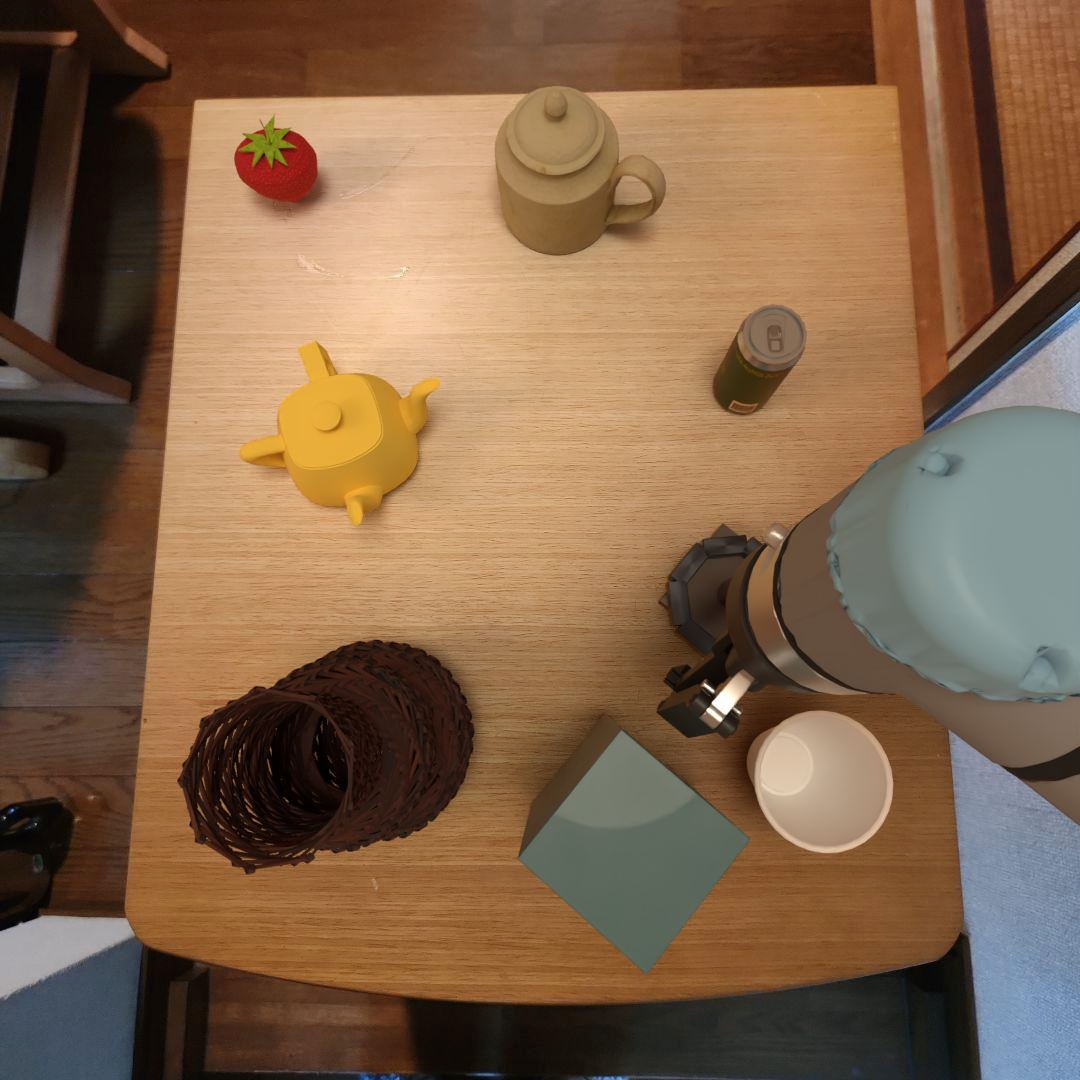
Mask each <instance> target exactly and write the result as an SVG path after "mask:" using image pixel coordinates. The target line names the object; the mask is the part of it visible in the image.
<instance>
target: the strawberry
mask: <svg viewBox="0 0 1080 1080" xmlns="http://www.w3.org/2000/svg"><path fill="white" fill-rule="evenodd" d="M275 117H276V115H275V114H274V115H273V116H272V117H271V118H270V119H269V121H268V122H267V123H266V125H265V126H264V124H263V121H262V120H261V118H259V119H258V121H259V123H260V125H261V126H262V129H260V130H259V129H258V130H257V131H255V132H252V133H250V132H249V133H248V132H242V136H244V137H245V138H244V139H243V140H242V141H241V142H240V143H239V145H237V147H236V150H235V152H234V157H233V162H234V166H235V170H236V173H237V174H238V177H239V179H240V180H241V181H242V182H243V183H244V184H245V185H246V186H248V187H249V188H250V189H251V190H252V191H254V192H256V193H257V194H258V195H260V196H262V197H264V198H267V199H271V200H275V201H278V202H283V203H284V202H285V203H299V202H301V201H302V200H303V199H304V198H305V197H306V196H307V195H308V194H309V193H310V191H311V190H312V188H313V186H314V185H315V183H316V180H317V179H318V173H319V170H318V169H319V168H318V157H317V153H316V150H315V149H314V147H313V146H312V145H311V144H310V143H309V141H308V140H307V139H306V138H305V137H304V136H303V135H301V134H300V133H298V132H296V131H294V130H291V129H292V127H286V128H280V127H279V128H277V127H275Z"/></svg>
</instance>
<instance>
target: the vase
mask: <svg viewBox="0 0 1080 1080" xmlns="http://www.w3.org/2000/svg"><path fill="white" fill-rule="evenodd" d="M461 689H462V688H461V685H460V684H459V683H458V682H457V681H456V680H455V679H454V678H453V673H452V672H451V670H450V669H448V668H447V667H446V666H444V665H442V663H441V661H440V660H439V659H438V658H437V657H436V656H434V655H433V654H428V652H427V651H426V650H424V649H423V648H419V647H413V646H411V645H410V643H405V642H401V643H400V642H398V641H397V642H396V641H393V640H392V641H391V640H390V641H385V642H384V641H383V640H381V639H373V640H369V641H364V640H363V641H362V640H358V641H355V642H351V643H350V644H345V645H340V646H339V647H338V648H336V649H333V650H330V651H329V652H327V653H326V654H324V655H323V656H322V657H319V658H317V659H315V660H314V661H312V662H308V663H306V664H303V665H302V666H301V667H297V668H294V669H293V670H291V672H289V673H288V674H287V675H286V676H285V677H282V678H280V679H278V680H277V681H276V682H275V683H274V685H273V686H270V687H268V688H266V687H265V686H260V685H254V686H253V687H252V688H250V689H249V691H247V693H245V694H244V695H242V696H241V697H239V698H236V699H232V700H228V702H227V703H226V705H224V706H221V707H219V708H216V709H214V710H213V712H212V713H211V714H208V715H205V716H203V717H201V718H200V719H199V724H198V728H199V729H198V732H197V735H196V737H195V740H194V742H193V744H192V745H191V746H190V747H189V753H188V755H187V758H186V759H185V760H184V761H183V763H182V764H181V766H182V770H181V773H180V775H179V777H178V778H177V780H176V783H177V784H178V785H179V788H180V789H182V792H183V795H184V796H183V797H184V800H185V803H186V809H187V811H188V815H189V818H190V821H189V823H188V826H189V827H190V828H191V829H192V830H193V834H194V843H195V844H199V845H201V846H203V845H205V846H207V847H208V848H210V849H211V850H212V851H215V852H216V853H218V854H219V855H221V856H222V857H224V858H226V859H227V860H229V861H230V863H231V864H230V865H231V867H232V868H239V869H240V868H241V869H243V870H244V873H245V875H252V874H255V873H256V870H262V869H267V868H274V867H280V868H281V867H283V866H287V865H290V866H292V867H294V868H295V867H296V866H298V865H299V864H301V863H305V864H307V865H309V864H310V863H311V862H313V861H314V860H315V859H316V856H315V854H316V853H317V852H318V851H320V852H325V851H331V852H332V853H333V854H339V853H343V852H345V851H347V852H349V853H351V852H357V851H359V850H360V849H361V847H362V848H367V847H369V846H371V845H373V844H375V843H377V842H380V841H382V842H390V841H393V840H395V839H397V838H399V839H406V838H408V837H409V836H411V835H412V834H413V833H414V832H416V833H417V832H421V831H422V830H424V829H426V827H428V825H429V822H430V823H432V822H434V821H435V820H436V819H437V818H438V816H439V815H440V814H441V812H443V811H444V810H445V809H446V808H447V807H448V806H449V805H450V803H451V801H452V800H454V799H455V798H456V797H457V794H458V793H459V790H460V787H461V786H462V785H463V784H464V782H465V779H466V776H467V773H468V768H469V766H470V758H471V755H472V754H473V752H474V741H473V738H474V736H475V725H474V723H473V722H472V721H473V713H472V711H471V709H470V707H469V705H467V704H468V699H467V697H466V696H465V694H464V693H463V692H462V690H461ZM223 805H224V806H225V808H224V806H223ZM198 808H199V809H200V810H201V811H200V810H199V809H198ZM250 811H251V812H250ZM233 848H235V849H237V850H234V849H233ZM238 850H239V851H238ZM311 851H312V852H311ZM298 854H299V855H298ZM243 858H245V859H243Z"/></svg>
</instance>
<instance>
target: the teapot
mask: <svg viewBox="0 0 1080 1080" xmlns="http://www.w3.org/2000/svg"><path fill="white" fill-rule="evenodd" d="M296 349H297V351H298V353H299V356H300V359H301V362H302V365H303V367H304V369H305V373H306V376H307V377H308V380H309V382H308V383H306V384H304V385H302V386H300V387H298V388H297V389H295V390H293V391H292V392H290V393H289V394H288V395H287V396H285V398H283V400H282V402H281V403H280V405H279V406H278V410H277V415H276V428H277V434H273V435H268V436H265V437H260V438H257V439H253V440H250V441H247V442H246V443H244V444H242V445H241V446H240V448H239V450H238V455H239V457H240V459H241V460H242V461H243V462H244V463H247V464H250V465H254V466H259V467H271V468H272V467H273V468H286V469H287V472H288V473H289V476H290V478H291V479H292V481H293V483H294V485H295V487H296V489H297V490H298V491H299V492H300V493H301V494H302V496H303V497H304V498H306V499H307V500H309V501H310V502H311V503H314V504H315V505H320V506H326V507H343V506H344V507H346V513H347V517H348V519H349V522H350V523H351V525H354V526H359V525H361V523H362V521H363V518H364V515H366V514H370V513H371V512H374V511H375V510H377V509H378V508H379V507H380V505H381V504H382V500H383V496H384V495H386V494H388V493H390V492H391V491H393V490H394V489H396V488H397V487H399V486H400V485H402V484H403V483H404V482H405V481H406V480H407V479H408V478H409V477H410V476H411V475H412V474H413V472H414V470H415V468H416V466H417V464H418V461H419V446H418V438H417V433H418V432H420V431H421V429H423V427H424V426H425V424H426V423H427V420H428V415H429V414H428V405H427V398H428V396H429V395H431V394H432V393H433V392H435V391H436V390H437V389H438V388H439V387H440V385H441V380H440V379H439V378H437V377H430V378H426V379H423V380H421V381H420V382H418V383H417V384H415V385H414V386H413V387H412V388H411V390H410V391H409V395H406V396H404V397H403V398H402V396H401V394H400V393H399V392H398V390H397V389H396V388H395V387H394V386H393V385H392V384H391V383H390V382H388V381H386V379H385V380H384V378H381V377H379V376H377V375H373V374H369V373H363V372H362V373H360V372H351V373H350V372H349V373H348V372H347V373H338V371H337V370H336V368H335V366H334V363H333V362H332V361H333V360H332V359H331V357H330V355H329V353H328V351H327V349H326V348H325V347H324V346H322V345H321V344H320V343H319V342H318V340H313V341H312V342H309V343H306V344H303V345H300V346H298V347H296Z"/></svg>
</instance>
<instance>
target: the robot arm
mask: <svg viewBox="0 0 1080 1080" xmlns="http://www.w3.org/2000/svg"><path fill="white" fill-rule="evenodd" d="M761 537H762V542H763V543H762V545H761V546H760V547H758V548H757V549H755V550H754V551H753V552H752V553H750V554H749V555H748V556H747V557H746V558H745V559H744V560H743V562H742V563H741V564H740V566H739V567H738V568H737V570H736V572H735V573H734V575H733V577H732V580H731V582H730V585H729V588H728V592H727V597H726V609H725V612H726V622H727V628H726V629H725V630H724V631H722V633H721V634H720V636H719V637H718V639H717V640H716V641H715V643H714V644H713V646H712V647H711V651H712V652H711V653H710V654H708V655H707V656H706V657H703V658H702V659H701V660H699V661H698V662H697V663H695V664H694V665H693V666H690V665H689V664H688V663H686V664H682V665H676V666H671V667H670V669H668V671H667V672H666V673H665V674H664V678H663V679H662V682H663V683H664V684H665V685H666V686H667V687H669V688H670V689H671V690H672V691H671V693H670V696H668V697H666V698H665V699H662V700H661V701H660V702H659V703H658V704H657V707H656V711H655V713H656V714H657V715H658V716H660V717H661V718H662V719H663V720H664V721H666V723H668V724H669V725H670V726H671V727H672V728H673V729H675V730H676V731H677V732H678V733H680V734H682V735H683V736H684V737H685V738H686V739H690V738H697V737H702V736H707V735H712V734H718V735H719V736H720V737H721V738H722V739H723V740H727V739H728V738H730V737H731V736H734V735H735V733H736V732H737V731H738V729H739V724H740V723H741V720H740V719H739V717H740V716H741V715H742V713H743V712H744V708H743V707H742V706H740V704H738V702H739V700H740V699H741V698H742V697H743V696H744V695H745V693H747V692H749V693H760V692H762V691H764V690H766V689H767V688H768V687H770V686H771V687H775V688H778V689H781V690H784V691H787V692H788V691H789V692H792V693H797V694H806V695H807V694H809V695H810V694H811V695H812V694H814V695H817V694H818V695H837V696H846V695H847V696H849V695H884V694H885V695H886V694H887V695H890V696H894V695H899V696H901V697H903V698H905V699H907V700H908V701H910V702H911V703H913V704H914V705H915V706H917V707H918V708H920V710H921V711H923V712H924V713H926V714H927V715H928V716H930V717H931V718H932V719H934V720H935V721H937V722H938V723H939V724H941V725H942V726H943V727H944V728H945V729H947V730H949V731H950V732H951V733H952V734H954V735H955V736H956V737H958V738H959V739H961V740H962V741H963V742H965V743H966V744H967V745H969V746H970V747H971V748H973V750H975V751H976V752H978V754H980V755H982V756H983V757H984V758H986V759H987V760H989V761H990V762H991V763H993V764H995V765H999V766H1000V767H1001V769H1002V768H1003V769H1004V770H1005V771H1006V772H1008V773H1009V774H1011V775H1012V776H1014V777H1015V778H1016V779H1018V780H1020V781H1021V782H1022V783H1023V784H1024V785H1026V786H1027V787H1029V788H1030V789H1031V790H1032V791H1034V792H1035V793H1036V794H1038V795H1039V796H1040V797H1041V798H1042V799H1044V800H1045V801H1046V802H1048V803H1049V804H1050V805H1052V806H1053V807H1054V808H1055V809H1057V810H1058V811H1059V812H1060V813H1062V814H1063V815H1065V817H1067V818H1068V819H1070V820H1071V821H1072V822H1073V823H1075V824H1076V825H1077V826H1079V827H1080V412H1076V411H1072V410H1068V409H1064V408H1063V409H1062V408H1056V407H1050V406H1041V405H1013V406H1003V407H997V408H993V409H988V410H984V411H980V412H976V413H973V414H970V415H967V416H964V417H962V418H960V419H958V420H955V421H953V422H950V423H947V424H946V425H944V426H942V427H939V428H937V429H934V430H931V431H928V433H925V434H923V435H921V436H920V437H918V438H917V439H915V440H913V441H911V442H909V443H906V444H903V445H900V446H897V447H894V449H891V450H890V451H888V452H887V453H885V454H884V455H882V456H880V457H879V458H878V459H876V460H874V461H873V462H872V463H871V464H869V466H868V467H867V468H866V469H865V471H863V474H862V475H860V477H858V478H857V479H855V480H854V481H852V482H851V483H850V484H848V486H846V487H845V488H843V489H842V490H841V491H840V492H838V493H837V494H836V495H834V496H832V498H830V499H829V500H828V501H826V502H824V503H823V504H822V505H820V506H819V507H817V508H816V509H814V510H813V511H811V512H810V513H809V514H807V515H805V516H803V518H801V519H800V520H798V521H797V522H795V523H794V524H792V525H791V526H789V527H788V528H787V527H786V526H784V525H783V524H782V523H781V522H773V523H770V525H769V526H768V527H766V528H765V529H764V531H763V533H762V536H761Z"/></svg>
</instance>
